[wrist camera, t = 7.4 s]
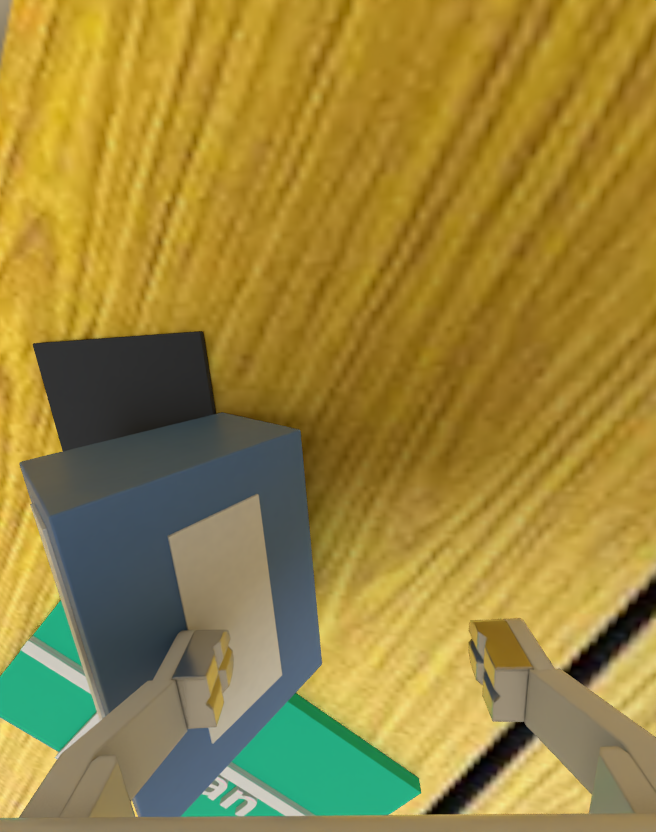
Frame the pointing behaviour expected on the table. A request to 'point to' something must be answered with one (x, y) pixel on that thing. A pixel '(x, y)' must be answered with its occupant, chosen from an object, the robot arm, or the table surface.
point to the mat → (124, 385)
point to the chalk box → (185, 573)
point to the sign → (249, 771)
